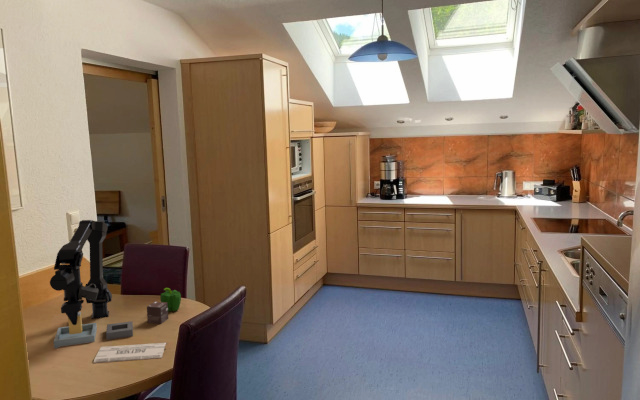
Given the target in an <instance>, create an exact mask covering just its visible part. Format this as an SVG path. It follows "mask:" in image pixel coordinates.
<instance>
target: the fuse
mask: <svg viewBox="0 0 640 400" xmlns="http://www.w3.org/2000/svg"><path fill="white" fill-rule="evenodd" d="M67 320H68V322H67V323H68V326H69V334H70V335H71V334H78V333H82V325H83V321H82V312H81V311H79V312H78V317H77V324H76V325H73V324H72V322H71V321H70V319H69V318H68V317H67Z"/></svg>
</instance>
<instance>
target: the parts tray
mask: <svg viewBox="0 0 640 400" xmlns="http://www.w3.org/2000/svg"><path fill="white" fill-rule="evenodd" d="M97 328H98V327H97V322H92V323H91V322H90V323H86V324H83V323H82V333H78V334H71V335H70V334H69V325H67V326H63V327H57V331H56V333H55V336H54V339H53V349H54V348H55V349H59V348H60V347H67V346H73V345H74V346H75V345H79V344H86V343H87V344H88V343H89V344H90V343H95V341H96V335H97V330H98V329H97Z"/></svg>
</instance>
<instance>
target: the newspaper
mask: <svg viewBox="0 0 640 400" xmlns="http://www.w3.org/2000/svg"><path fill="white" fill-rule="evenodd" d="M167 344H168V343H167V342H158V343H157V342H156V343H155V342H154V343H142V344H141V343H139V344H138V343H137V344H127V345H125V344H124V345H109V346H100V348H99V350H98V352H97V353H96V355H95V358H93V359H94V360H93V364H101V363H114V362H128V361H138V360H142V361H143V360H154V359H155V360H156V359H162V358H163V356H164V355H163V354H164V351H165V347H166V346H167Z"/></svg>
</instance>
